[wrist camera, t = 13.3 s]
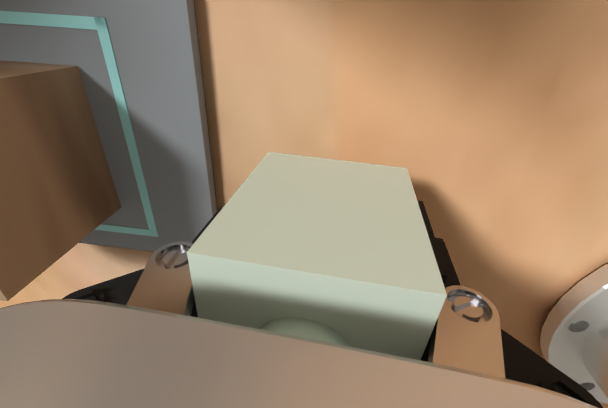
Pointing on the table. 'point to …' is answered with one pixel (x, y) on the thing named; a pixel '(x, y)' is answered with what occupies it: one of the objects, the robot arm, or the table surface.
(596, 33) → the table surface
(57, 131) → the walnut block
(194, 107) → the slate mat
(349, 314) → the sage block
